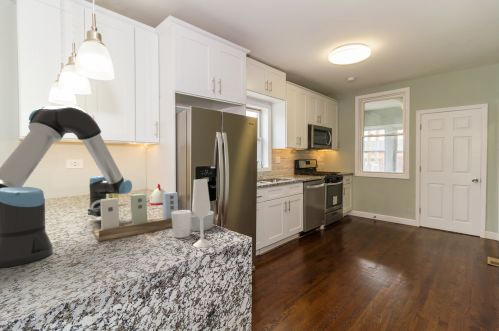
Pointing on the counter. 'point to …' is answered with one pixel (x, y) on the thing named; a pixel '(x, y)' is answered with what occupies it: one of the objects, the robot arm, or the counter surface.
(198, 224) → the ramekin
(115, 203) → the tile
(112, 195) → the sauce bottle
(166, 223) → the oak board
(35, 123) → the robot arm
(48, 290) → the counter surface
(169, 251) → the counter surface
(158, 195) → the kitchen timer
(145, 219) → the tile
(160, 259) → the counter surface
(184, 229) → the white cup
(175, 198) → the tile
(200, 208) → the champagne flute
